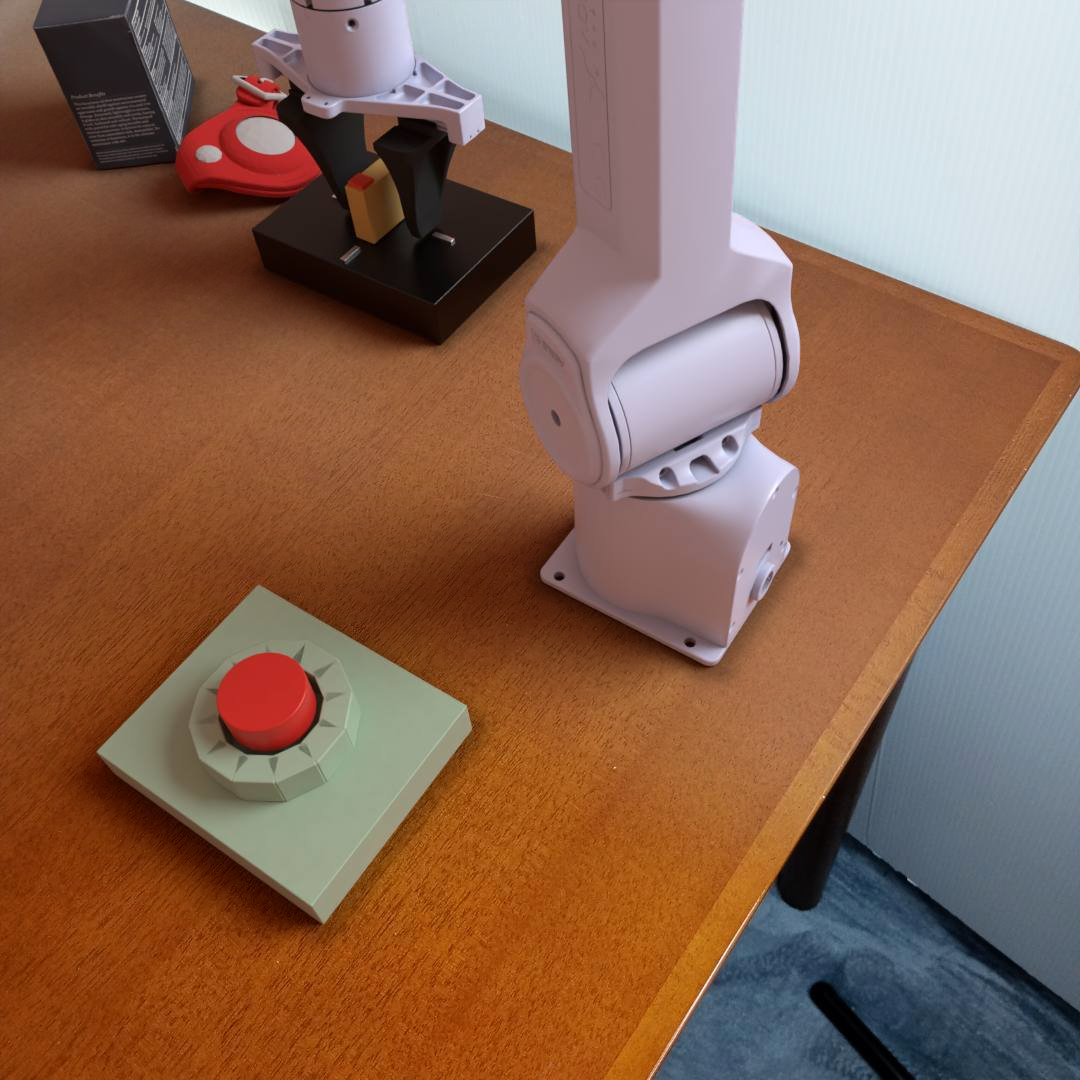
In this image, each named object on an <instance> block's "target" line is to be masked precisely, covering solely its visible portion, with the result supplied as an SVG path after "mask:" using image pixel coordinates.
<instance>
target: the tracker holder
mask: <svg viewBox="0 0 1080 1080" xmlns="http://www.w3.org/2000/svg"><path fill="white" fill-rule="evenodd" d="M230 78H231V79H230V80H231V82H232V83H234V84H237V85H238V86H237V87H236V90H235V93H236V97H237V99H236V101H234V103H233V104H231V106H230V107H229V108H228V109H227V110H224V111H223V112H220V113H218V114H216V115H215V116H213V117H211V118H210V119H207V120H206V121H204V122H203V123H201V124H200V125H198V126H197V127H195V128H193V129H192V130H190V132H189V133H187V135H186V136H185V138H184V139H183V140H182V142H181V145H180V147H179V149H178V152H177V156H176V161H175V163H174V170H175V171H176V173H177V176H178V177H179V179H180V181H181V183H182V184H183V186H184V187H185V190H186V191H187V192H188V193H189V194H191V195H194V194H198V193H200V192H203V191H204V190H206V189H208V188H209V189H220V190H225V191H229V192H232V193H235V194H242V195H247V196H248V195H249V196H253V197H262V198H273V199H283V198H284V199H285V198H292V197H293V196H294V195H295V194H297V193H298V192H299V191H300V190H302V189H303V188H304V187H305V186H307V185H308V184H309V183H310V182H312V181H313V180H314V179H315V178H317V177H318V176H319V175H320V174H322V171H321V170H320V168H319V167H318V165H317V163H316V162H315V160H314V159H313V157H312V156H311V154H310V153H309V152H308V150H307V149H306V148H305V146H304V145H303V144H302V143H301V141H300V140H299V139H298V138H297V137H296V136H295V134H294V133H293V132H292V131H291V130H290V129H289V128H288V127H287V126H286V125H284V124H283V123H282V122H281V121H280V120H279V119H278V115H277V111H276V106H277V104H278V103H279V102H280V101H281V100H283V99H284V98H286V97H287V96H288V94H286V93H284V92H283V91H281V89H280V85H279V84H277V83H274V80H270V79H267V78H264V77H258V76H256V75H253V74H250V75H237V74H236V75H232V76H230Z"/></svg>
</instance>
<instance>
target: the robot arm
mask: <svg viewBox="0 0 1080 1080" xmlns="http://www.w3.org/2000/svg"><path fill="white" fill-rule="evenodd" d="M289 3H290V7H291V12H292V15H293V21H294V24H295V28H296V32H291V31H286V30H282V29H279V28H273V29H271V30H270V31H268V32H267V33H265V34H264V35H262V36H261V37H259V38H258V39H256V40H255V41H253V42H252V43H251V44H250V46H251V49H252V52H253V56H254V61H255V63H256V66H257V70H258V74H259V76H260V78H267V79H270V80H272V81H275V80H277V79H279V78H280V76H282V77H285V78H287V80H288V84H289V89H288V91H287V92H288V94H287V97H286V98H284V99H283V100H279V102H278V104H277V106H276V111H277V115H278V119H279V120H280V121H281V122H282V123H283V124H284V125H286V126H287V127H288V128H289V129H290V130H291V131H292V132H293V133H294V134H295V136H296V137H297V138H298V139H299V140H300V141H301V143H302V144H303V145H304V146H305V148H306V149H307V150H308V152H309V153H310V154H311V156H312V157H313V159H314V160H315V162H316V163H317V165H318V167H319V168H320V170H321V171H322V173H323V175H324V177H325V178H326V180H327V182H328V184H329V186H330V187H331V189H332V191H333V193H334V195H335V197H336V198H337V200H338V202H339V203H340V205H341V207H342V208H343V209H345V210H348V211H350V207H349V202H348V198H347V194H346V190H345V186H346V185H347V184H348V181H349V180H350V179H352V178H353V177H354V176H355V175H357V174H358V173H362V172H363V171H365V170H366V169H367V168H368V167H369V161H368V155H367V151H368V149H367V144H366V133H365V132H366V131H365V115H372V116H384V117H395V118H397V125H393V127H391V128H390V129H389V130H387V131H386V132H385V133H384V134H382V135H381V136H380V137H378V138H377V139H376V140H374V141H373V142H372V147H373V150H374V153H376V154H378V155H379V157H380V158H381V160H382V161H383V162H384V164H385V166H386V167H387V169H388V171H389V173H390V175H391V177H392V179H393V181H394V184H395V186H396V189H397V191H398V194H399V198H400V202H401V206H402V210H403V214H404V218H405V222H406V225H407V227H408V230H409V232H410V233H411V235H412V236H414V237H416V238H419V239H422V238H423V237H424V236H425V235H427V234H428V233H429V232H430V231H431V230H432V229H433V228H435V227H436V226H437V225H438V224H439V223H440V222H441V212H442V202H443V194H444V188H445V182H446V179H447V176H448V174H449V173H448V172H449V168H450V165H451V161H452V158H453V155H454V153H455V150H456V147H457V146H460V147H465V146H466V145H467V144H469V142H471V141H473V140H474V139H475V138H476V137H477V136H478V135H479V134H480V133H481V132H483V131H484V130H485V129H486V122H485V114H484V103H483V95H482V94H481V93H478V92H475V91H472V90H470V89H468V88H466V87H464V86H462V85H461V84H459V83H457V82H456V81H454V80H453V79H451V78H450V77H449V76H447V75H446V74H445V73H443V72H442V71H441V70H439V69H438V68H437V67H436V66H434V65H433V64H431V63H430V62H429V61H427V60H426V59H425V58H423V57H422V56H421V55H419V54H418V53H417V52H416V51H414V48H413V41H412V34H411V28H410V21H409V16H408V9H407V3H406V0H289ZM560 7H561V17H562V19H561V20H562V21H561V22H562V34H563V35H562V36H563V48H564V49H563V50H564V62H565V63H564V64H565V75H566V76H565V77H566V78H565V79H566V88H567V89H566V91H567V105H568V119H569V120H568V121H569V132H570V147H571V161H572V174H573V189H574V202H575V217H576V226H575V228H574V230H573V232H572V233H571V235H570V236H569V237H568V239H567V240H566V242H565V243H564V245H563V246H562V247H561V248H560V249H559V251H558V252H557V253H556V255H555V256H554V258H552V260H551V261H550V262H549V264H548V265H547V266H546V268H545V269H544V270H543V272H542V273H541V274H540V276H539V277H538V278H537V280H536V281H535V283H534V284H533V285H532V286H531V288H530V290H529V291H528V292H527V294H526V296H525V298H524V301H523V302H524V311H525V320H524V321H525V322H524V325H525V341H524V345H523V348H522V352H521V358H520V362H519V366H518V383H519V389H520V394H521V398H522V402H523V405H524V407H525V411H526V413H527V416H528V419H529V421H530V423H531V425H532V429H533V430H534V432H535V434H536V436H537V438H538V440H539V441H540V444H541V445H542V447H543V448H544V450H545V452H546V453H547V455H548V456H549V457H550V459H551V461H552V462H553V463H554V464H555V465H556V466H557V468H558V469H559V470H560V471H561V472H562V473H563V474H565V476H567V478H569V479H571V480H572V493H573V494H572V495H573V496H572V497H573V511H574V512H573V514H574V516H573V517H574V526H573V528H572V529H571V531H570V532H569V533H568V535H567V536H566V537H565V538H564V540H563V541H562V542H561V543H560V544H559V546H558V547H557V549H556V550H555V551H553V553H552V554H551V556H550V557H549V558H548V559H547V560H546V562H545V564H543V566H542V567H541V569H540V571H539V573H540V574H539V575H540V580H541V582H543V583H544V584H545V585H547V586H550V587H552V588H553V589H555V590H557V591H559V592H561V593H563V594H565V595H567V596H568V597H571V598H573V599H574V600H577V601H578V602H581V603H582V604H584V605H586V606H588V607H590V608H592V609H594V610H597V611H598V612H600V613H602V614H604V615H606V616H608V617H610V618H612V619H614V620H616V621H618V622H620V623H621V624H624V625H625V626H627V627H630V628H631V629H633V630H635V631H637V632H639V633H641V634H643V635H645V636H647V637H649V638H651V639H653V640H655V641H657V642H659V643H661V644H663V645H665V646H667V647H669V648H671V649H672V650H675V651H676V652H678V653H680V654H682V655H684V656H686V657H688V658H690V659H692V660H694V661H696V662H698V663H700V664H702V665H704V666H706V667H707V666H708V667H714V666H715V665H716V666H717V664H719V662H720V661H721V660H722V658H723V657H724V655H725V654H726V653H727V650H728V649H729V647H730V646H731V645H732V643H733V641H734V640H735V638H736V636H737V635H738V634H739V632H740V630H741V629H742V627H743V625H744V624H745V622H746V621H747V619H748V618H749V617H750V614H752V611H753V610H754V608H755V607H756V605H757V604H758V603H759V602H760V601H761V600H762V599H763V598H764V596H765V595H766V593H767V592H768V589H770V586H771V584H772V582H773V580H774V577H775V576H776V574H777V573H778V571H779V570H780V568H781V566H782V564H784V562H785V560H786V558H787V557H788V555H789V554H790V551H791V543H790V542H789V540H788V539H789V535H790V530H791V525H792V520H793V515H794V512H795V511H794V510H795V505H796V502H797V501H796V500H797V496H798V491H799V486H800V480H801V479H800V478H801V476H800V475H801V474H800V470H799V468H797V466H796V465H794V464H792V463H791V462H789V461H787V460H785V459H784V458H782V457H780V456H778V455H777V454H776V453H774V452H773V451H771V450H770V449H769V448H768V447H766V446H765V445H764V444H762V443H761V442H760V441H759V440H758V438H757V437H755V436H754V434H752V433H753V432H754V431H756V430H757V429H759V428H760V424H761V418H762V411H763V404H772V403H774V402H776V401H779V400H780V399H783V398H784V397H786V396H787V395H788V394H789V393H790V392H791V391H792V390H793V388H794V386H795V385H796V383H797V379H798V376H799V372H800V363H801V339H800V333H799V328H798V324H797V319H796V316H795V314H794V311H793V310H794V309H793V305H792V297H791V296H792V295H791V291H792V281H793V280H792V279H793V269H794V266H793V265H794V264H793V263H792V261H791V260H790V259H789V257H788V256H787V255H786V254H785V252H784V251H783V250H782V249H781V247H780V246H779V245H778V244H777V242H776V241H775V240H774V239H773V238H772V237H771V236H770V234H768V233H767V232H766V231H765V230H763V229H762V228H761V227H760V226H759V225H758V224H756V223H755V222H753V221H751V220H750V219H748V218H747V217H745V216H743V215H741V214H739V213H737V212H735V211H733V209H734V208H733V206H734V204H733V203H734V192H735V191H734V189H735V174H736V173H735V170H736V153H737V139H738V138H737V137H738V121H739V120H738V117H739V100H740V85H741V84H740V83H741V63H742V47H743V46H742V45H743V29H744V11H745V0H560ZM559 577H561V578H563V579H562V580H557V578H559ZM687 643H692V644H694V645H693V646H691V647H690V646H687V645H686V644H687Z"/></svg>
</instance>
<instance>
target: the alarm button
mask: <svg viewBox="0 0 1080 1080" xmlns="http://www.w3.org/2000/svg"><path fill="white" fill-rule="evenodd" d="M216 702H217V708H218V712H219V714H220V716H221V718H222V719H223V721H224V722H225V724H226V726H227V727H228V729H229V730H230V732H231V734H232V735H233V737H234V738H235V739H236V740H237V742H239V743H240V744H241V745H243V746H244V747H246V748H249V749H251V750H255V751H274V750H278V749H282V748H284V747H287V746H289V745H290V744H292V743H294V742H295V741H297V740H298V739H299V738H300V737H301V736H302V735H303V734H304V733H305V732H306V731H307V730H308V728H309V727H310V725H311V723H312V721H313V719H314V716H315V713H316V697H315V694H314V691H313V689H312V687H311V685H310V683H309V680H308V678H307V676H306V674H305V672H304V670H303V668H302V667H301V665H300V664H299V663H298V662H297V661H295V660H294V659H293V658H291V657H289V656H286V655H284V654H280V653H273V652H268V653H260V654H256V655H252V656H250V657H247V658H245V659H243V660H242V661H240V662H239V663H237V664H236V665H235V666H233V667H232V668H231V669H230V670H229V671H228V672H227V674H226V675H225V676H224V678H223V679H222V681H221V683H220V685H219V688H218V692H217V700H216Z"/></svg>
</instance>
